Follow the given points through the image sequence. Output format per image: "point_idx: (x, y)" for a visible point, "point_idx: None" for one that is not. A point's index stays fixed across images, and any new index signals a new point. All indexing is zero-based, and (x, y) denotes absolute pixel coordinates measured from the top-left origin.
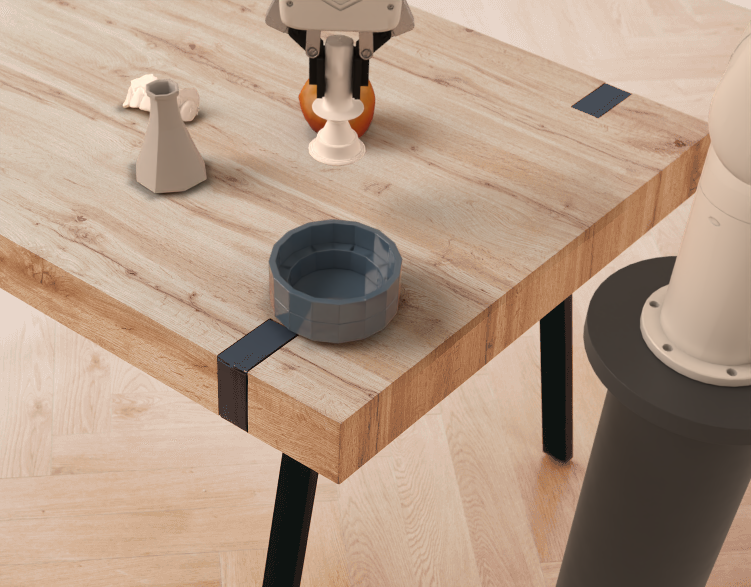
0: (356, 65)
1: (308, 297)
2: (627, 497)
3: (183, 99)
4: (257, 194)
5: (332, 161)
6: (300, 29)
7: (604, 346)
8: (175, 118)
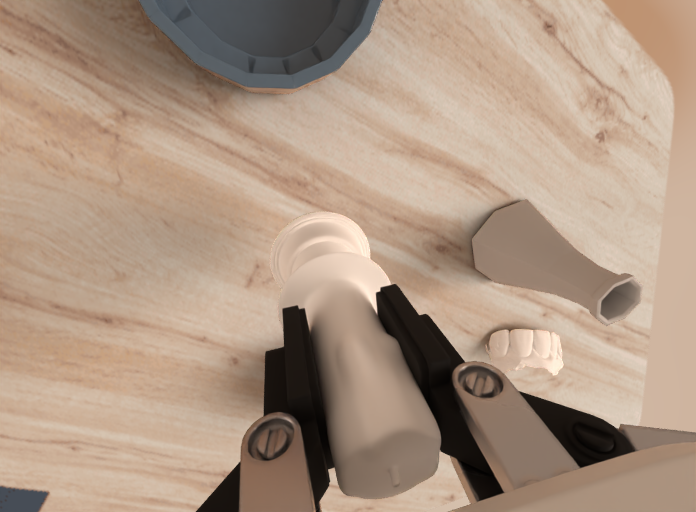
0: (304, 380)
1: None
2: None
3: (510, 354)
4: (410, 227)
5: (322, 218)
6: (658, 447)
7: None
8: (565, 271)
